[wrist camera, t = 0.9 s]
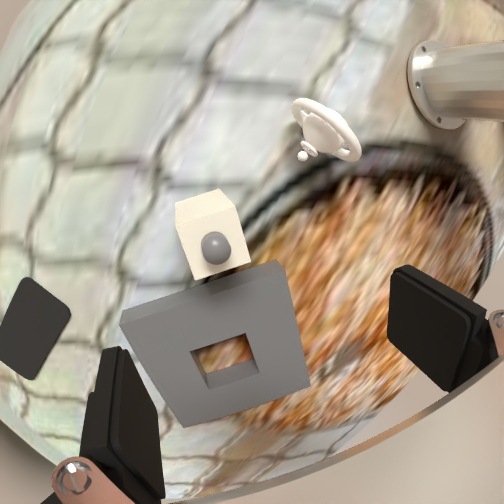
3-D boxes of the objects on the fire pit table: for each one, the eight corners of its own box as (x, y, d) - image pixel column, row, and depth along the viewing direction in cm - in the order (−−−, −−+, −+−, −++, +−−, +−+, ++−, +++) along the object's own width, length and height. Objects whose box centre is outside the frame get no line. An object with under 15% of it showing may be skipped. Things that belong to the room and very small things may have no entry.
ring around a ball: (343, 145, 32) (386, 150, 25) (311, 182, 33) (348, 196, 26) (293, 92, 29) (328, 80, 22) (256, 130, 30) (282, 128, 23)
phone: (73, 312, 31) (32, 383, 33) (75, 309, 32) (33, 379, 33) (23, 274, 28) (-11, 352, 30) (26, 271, 29) (-8, 349, 30)
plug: (218, 188, 31) (239, 210, 21) (231, 230, 33) (255, 269, 23) (175, 202, 30) (175, 232, 21) (189, 243, 32) (196, 289, 23)
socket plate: (275, 259, 35) (284, 269, 32) (302, 372, 42) (310, 385, 39) (122, 310, 33) (119, 325, 30) (181, 412, 40) (183, 427, 37)
